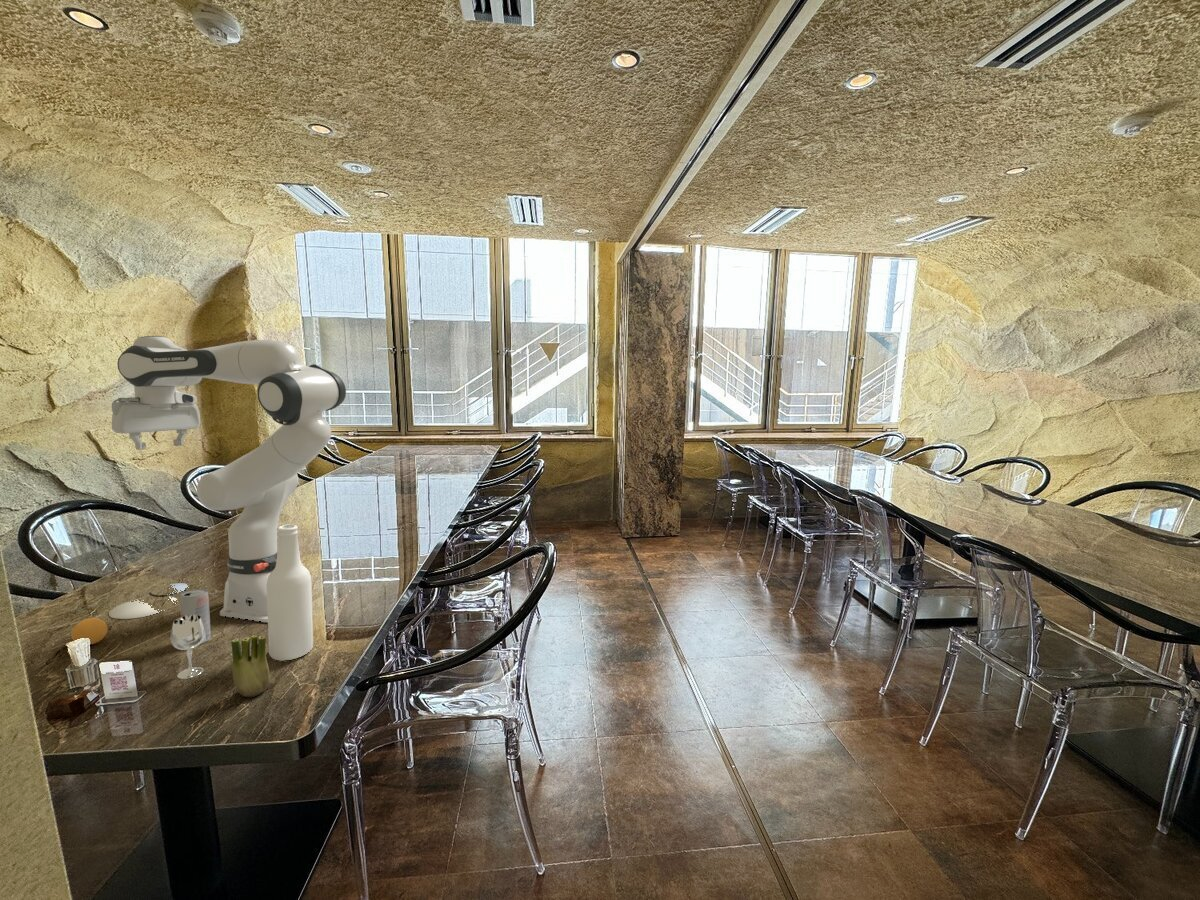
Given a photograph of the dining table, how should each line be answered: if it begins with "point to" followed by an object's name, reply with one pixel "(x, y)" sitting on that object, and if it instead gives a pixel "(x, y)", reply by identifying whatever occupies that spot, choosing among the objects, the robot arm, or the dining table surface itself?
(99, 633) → the ball
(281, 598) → the white bottle
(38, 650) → the dining table surface
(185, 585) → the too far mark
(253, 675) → the fennel bulb
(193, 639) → the wineglass
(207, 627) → the energy drink
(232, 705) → the dining table surface
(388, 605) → the dining table surface
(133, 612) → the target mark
